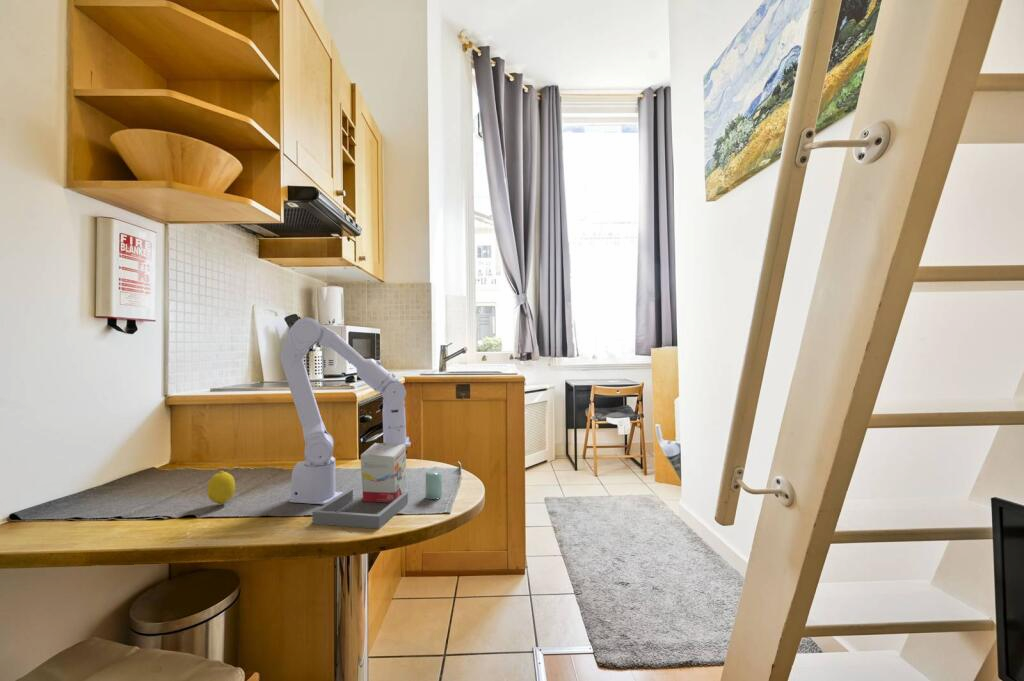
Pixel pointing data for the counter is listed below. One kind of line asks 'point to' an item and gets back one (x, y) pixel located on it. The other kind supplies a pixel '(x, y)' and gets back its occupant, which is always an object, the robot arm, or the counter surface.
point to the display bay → (330, 517)
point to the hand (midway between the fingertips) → (396, 478)
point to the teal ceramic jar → (433, 484)
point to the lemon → (221, 487)
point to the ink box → (383, 472)
